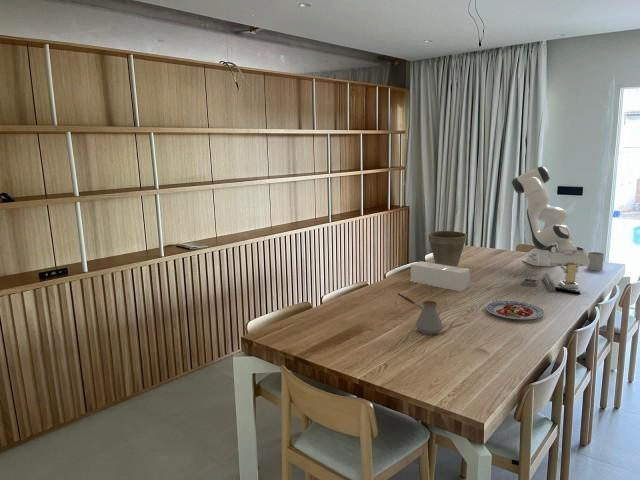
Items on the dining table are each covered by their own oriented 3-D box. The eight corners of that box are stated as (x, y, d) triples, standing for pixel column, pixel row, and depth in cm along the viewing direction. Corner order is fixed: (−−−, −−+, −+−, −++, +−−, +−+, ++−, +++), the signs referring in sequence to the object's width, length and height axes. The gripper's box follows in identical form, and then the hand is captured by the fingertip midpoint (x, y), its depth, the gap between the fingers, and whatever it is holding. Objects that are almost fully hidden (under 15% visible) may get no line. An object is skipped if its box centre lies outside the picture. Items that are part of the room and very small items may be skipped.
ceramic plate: (496, 301, 240) (496, 296, 240) (550, 311, 224) (550, 305, 224) (477, 315, 221) (477, 309, 220) (535, 327, 205) (535, 321, 204)
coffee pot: (446, 329, 204) (447, 296, 202) (436, 338, 195) (437, 304, 192) (402, 320, 217) (402, 289, 214) (390, 328, 207) (390, 296, 205)
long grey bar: (543, 278, 278) (543, 273, 277) (548, 279, 277) (549, 273, 276) (549, 291, 254) (549, 285, 253) (555, 291, 253) (555, 285, 252)
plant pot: (465, 271, 300) (466, 237, 296) (426, 268, 308) (426, 236, 304) (466, 262, 324) (467, 231, 320) (430, 260, 332) (430, 230, 327)
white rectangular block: (410, 282, 280) (410, 264, 278) (419, 278, 288) (420, 261, 286) (460, 291, 258) (460, 272, 256) (469, 287, 266) (469, 268, 264)
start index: (559, 283, 267) (559, 280, 266) (573, 284, 265) (574, 281, 265) (563, 287, 260) (563, 284, 259) (578, 288, 258) (578, 284, 258)
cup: (598, 267, 301) (599, 252, 299) (604, 270, 293) (606, 254, 291) (584, 267, 302) (586, 252, 300) (590, 270, 294) (592, 255, 292)
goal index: (524, 281, 274) (524, 278, 273) (538, 283, 269) (538, 279, 269) (521, 284, 267) (521, 281, 267) (535, 286, 263) (536, 283, 263)
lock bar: (565, 280, 264) (566, 262, 262) (572, 280, 264) (574, 262, 262) (567, 282, 261) (568, 264, 259) (575, 282, 260) (576, 264, 258)
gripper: (548, 248, 268) (552, 269, 260) (587, 248, 263) (592, 269, 256) (546, 254, 273) (549, 274, 265) (584, 254, 268) (589, 275, 261)
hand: (571, 272), depth 260 cm, fingers closed on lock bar, 4 cm apart
